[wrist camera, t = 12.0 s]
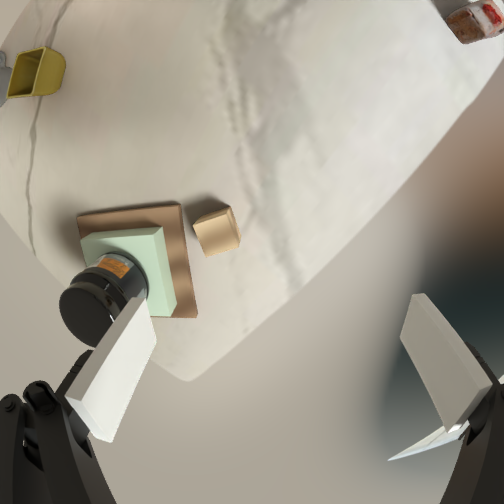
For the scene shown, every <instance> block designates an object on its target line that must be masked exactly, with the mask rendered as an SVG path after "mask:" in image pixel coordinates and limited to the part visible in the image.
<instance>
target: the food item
mask: <svg viewBox="0 0 504 504" xmlns="http://www.w3.org/2000/svg"><path fill="white" fill-rule="evenodd" d="M445 21H446V23H447V24H448V26H449V27H450V29H451V30H452V31H453V32H454V34H455V35H456V36H457V37H458V39H459V41H460V42H461V43H462V44H469V43H473V42H476V41H479V40H482V39H487V38H492V37H496V36H498V35H499V34H502V33H503V32H504V15H503V13H502V12H501V10H500V8H499V7H498V6H497V5H496V4H495V3H494V2H493V0H479V1H476V2H472V3H471V2H470V4H468V5H466V6H464V7H461V8H460V9H458V10H456V11H454V12H452V13H451V14H450V15H449V16H448V17H447V18H446V20H445Z"/></svg>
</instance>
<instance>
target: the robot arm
mask: <svg viewBox="0 0 504 504" xmlns="http://www.w3.org/2000/svg"><path fill="white" fill-rule="evenodd" d="M400 339H401V341H402V343H403V344H404V346H405V348H406V350H407V352H408V354H409V355H410V357H411V359H412V361H413V363H414V365H415V367H416V369H417V371H418V372H419V374H420V376H421V378H422V380H423V382H424V384H425V386H426V388H427V390H428V392H429V394H430V396H431V398H432V401H433V403H434V405H435V407H436V409H437V411H438V413H439V416H440V418H441V420H442V422H443V424H444V427H445V429H446V431H447V433H449V432H452V431H454V430H457V429H459V428H461V427H462V426H463V424H464V423H465V422H466V421H467V419H468V421H469V423H470V425H469V426H468V427H467V428H466V429H465V431H464V432H463V433H462V434H461V435H460V437H459V438H458V440H460V439H461V438H462V437H463V436H464V435H465V437H464V440H463V444H462V447H461V450H460V453H459V457H458V460H457V462H456V465H455V468H454V471H453V473H452V476H451V479H450V481H449V484H448V486H447V488H446V491H445V493H444V495H443V498H442V500H441V502H440V504H504V384H500V383H499V381H498V380H497V378H496V377H495V375H494V374H493V372H492V371H491V369H490V368H489V367H488V365H487V364H486V363H485V361H484V360H483V358H482V357H480V354H479V353H478V351H477V350H476V349H475V347H473V346H472V345H471V344H469V343H468V342H463V341H462V339H461V338H460V337H459V335H458V334H457V333H456V332H455V330H454V329H453V328H452V326H450V324H449V323H448V322H447V320H446V319H445V318H444V317H443V315H442V314H441V313H440V311H439V310H438V309H437V308H436V307H435V305H434V304H433V303H432V302H431V301H430V300H429V298H428V297H427V296H426V295H425V294H424V293H422V294H412V298H411V301H410V305H409V308H408V312H407V316H406V319H405V322H404V325H403V329H402V332H401V335H400ZM156 342H157V340H156V336H155V333H154V329H153V326H152V322H151V318H150V314H149V310H148V306H147V302H146V298H135V297H132V298H131V299H130V301H129V302H128V303H127V305H126V306H125V307H124V309H123V310H122V311H121V313H120V314H119V316H118V317H117V318H116V320H115V321H114V322H113V324H112V325H111V327H110V328H109V329H108V331H107V332H106V334H105V335H104V337H103V338H102V339H101V341H100V342H99V344H98V345H97V347H96V348H95V350H87V351H86V352H85V353H83V354H82V355H81V356H80V357H79V358H78V360H77V361H76V362H75V364H74V366H73V367H72V368H71V370H70V372H69V373H68V374H67V375H66V377H65V379H64V380H63V381H62V383H61V384H60V386H59V388H58V389H57V391H56V392H55V393H54V391H53V390H52V388H51V387H50V386H49V384H48V383H47V382H45V381H41V380H40V381H35V382H33V383H31V384H29V385H28V386H27V387H26V389H25V390H24V392H23V398H24V400H25V401H26V402H27V403H23V402H22V400H21V399H20V398H19V396H17V395H16V394H8V395H6V396H5V397H3V398H2V400H1V401H0V504H116V501H115V499H114V497H113V495H112V494H111V491H110V489H109V487H108V485H107V483H106V480H105V478H104V476H103V474H102V471H101V469H100V466H99V464H98V461H97V459H96V456H95V453H94V451H93V448H92V445H91V442H90V440H89V438H88V437H87V435H88V433H89V431H91V432H92V434H93V435H94V436H95V437H96V438H98V439H101V440H104V441H107V442H110V443H111V442H112V441H113V438H114V436H115V433H116V431H117V429H118V426H119V424H120V421H121V419H122V417H123V415H124V412H125V410H126V408H127V405H128V403H129V401H130V398H131V396H132V394H133V391H134V390H135V387H136V385H137V383H138V381H139V379H140V376H141V374H142V372H143V370H144V368H145V365H146V363H147V361H148V359H149V357H150V355H151V353H152V351H153V349H154V347H155V344H156ZM23 440H24V446H23Z"/></svg>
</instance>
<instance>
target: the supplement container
mask: <svg viewBox="0 0 504 504" xmlns="http://www.w3.org/2000/svg"><path fill="white" fill-rule="evenodd" d="M149 291H150V286H149V280H148V277H147V274H146V272H145V270H144V269H143V267H142V266H141V265H140V264H139V263H138V262H137V261H136V260H135V259H134V258H133V257H131V256H129V255H128V254H125V253H123V252H117V251H112V252H107V253H104V254H103V255H101V256H100V257H98V259H97V260H96V261H94V262H93V263H92V264H91V265H90V266H88V267H87V268H86V269H85V270H84V271H82V272H80V273H79V274H77V275H76V276H75V277H74V278H73V279H72V281H71V283H70V286H69V287H68V288H67V289H66V290H65V291H64V292H63V293H62V295H61V297H60V300H59V309H60V313H61V316H62V319H63V321H64V323H65V325H66V326H67V327H68V329H69V330H70V331H71V333H72V334H73V335H74V336H75V337H76V338H78V339H79V340H80V341H82V342H83V343H85V344H87V345H89V346H91V347H94V348H96V347H97V345H98V344H99V342H100V341H101V339H102V338H103V337H104V335H105V334H106V332H107V331H108V329H109V328H110V327H111V325H112V324H113V322H114V321H115V320H116V318H117V317H118V316H119V314H120V313H121V311H122V310H123V309H124V307H125V306H126V305H127V303H128V302H129V301H130V299H131V298H132V297H135V298H146V301H147V299H148V296H149Z"/></svg>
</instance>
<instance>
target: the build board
mask: <svg viewBox="0 0 504 504" xmlns="http://www.w3.org/2000/svg"><path fill="white" fill-rule="evenodd" d="M77 223H78V228H79V232H80V236H81V239H83V238H84V237H86V236H87V235H89V234H91V233H93V232H103V231H114V230H125V229H137V228H150V227H163V233H164V239H165V245H166V251H167V256H168V262H169V267H170V272H171V277H172V282H173V287H174V292H175V297H176V301H177V305H176V307H175V309H174V311H173V313H172V315H171V317H170V318H196V317H197V314H198V311H197V306H196V301H195V295H194V290H193V284H192V278H191V272H190V266H189V260H188V254H187V247H186V240H185V233H184V226H183V219H182V211H181V204H175V205H165V206H155V207H145V208H136V209H127V210H119V211H111V212H103V213H96V214H88V215H81V216H79V217H77ZM150 317H167V316H150Z"/></svg>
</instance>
